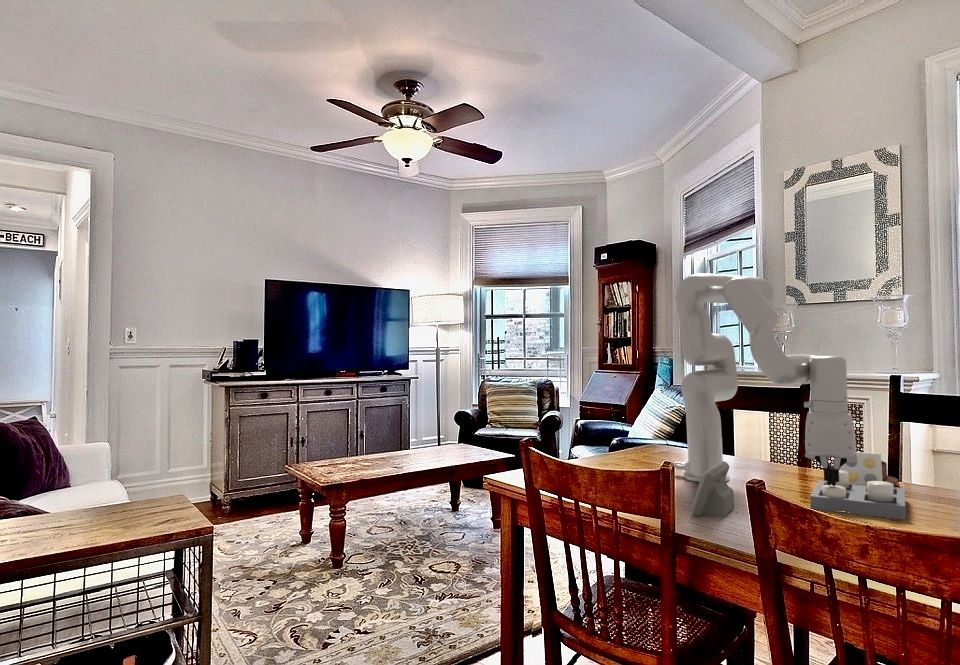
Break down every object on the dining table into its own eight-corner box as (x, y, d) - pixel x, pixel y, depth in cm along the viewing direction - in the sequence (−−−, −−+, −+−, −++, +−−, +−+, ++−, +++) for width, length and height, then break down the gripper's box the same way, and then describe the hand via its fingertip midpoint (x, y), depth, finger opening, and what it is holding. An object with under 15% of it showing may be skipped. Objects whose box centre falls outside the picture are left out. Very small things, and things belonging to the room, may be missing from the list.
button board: (810, 508, 135) (810, 496, 135) (819, 491, 150) (818, 480, 150) (905, 520, 124) (905, 506, 125) (905, 500, 139) (904, 488, 139)
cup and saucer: (907, 490, 148) (906, 466, 149) (856, 489, 151) (855, 466, 151) (885, 479, 160) (884, 457, 160) (837, 479, 163) (836, 457, 163)
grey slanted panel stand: (711, 500, 146) (709, 458, 146) (747, 507, 139) (745, 462, 139) (677, 514, 135) (675, 468, 135) (714, 522, 128) (712, 474, 128)
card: (838, 490, 150) (836, 452, 150) (839, 488, 153) (837, 450, 153) (885, 495, 144) (883, 455, 144) (885, 492, 147) (883, 453, 147)
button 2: (825, 486, 143) (824, 472, 143) (827, 482, 147) (826, 469, 147) (848, 489, 140) (847, 474, 140) (849, 484, 144) (848, 470, 144)
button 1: (821, 503, 136) (821, 488, 136) (823, 498, 139) (823, 484, 140) (845, 505, 133) (844, 490, 133) (847, 501, 137) (846, 486, 137)
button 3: (867, 500, 130) (866, 484, 130) (868, 495, 134) (867, 480, 134) (893, 502, 127) (892, 486, 128) (893, 497, 131) (892, 482, 131)
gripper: (791, 407, 138) (793, 484, 138) (866, 410, 129) (868, 492, 129) (795, 404, 144) (798, 477, 144) (867, 407, 135) (870, 485, 135)
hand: (831, 484), depth 137 cm, fingers closed
